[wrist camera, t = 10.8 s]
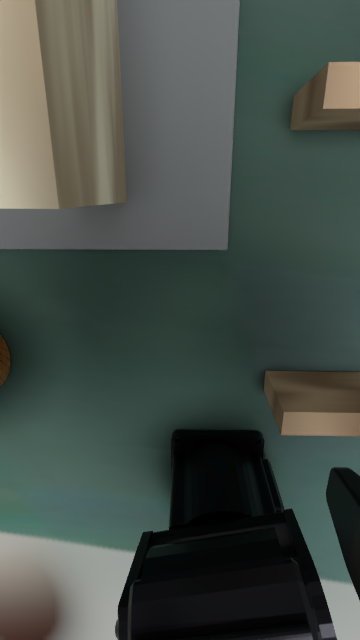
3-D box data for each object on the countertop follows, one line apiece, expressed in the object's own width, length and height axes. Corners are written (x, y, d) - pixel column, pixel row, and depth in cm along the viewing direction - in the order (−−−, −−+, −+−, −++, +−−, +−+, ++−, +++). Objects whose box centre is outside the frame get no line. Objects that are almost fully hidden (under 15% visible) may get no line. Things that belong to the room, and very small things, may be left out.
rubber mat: (-13, 247, 20) (-21, 248, 19) (-89, -138, 14) (-105, -157, 13) (225, 248, 19) (227, 249, 19) (244, -145, 14) (247, -164, 13)
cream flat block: (71, 202, 18) (-58, 208, 9) (42, -75, 14) (-246, -611, 5) (126, 202, 18) (59, 208, 8) (113, -75, 14) (-38, -623, 5)
